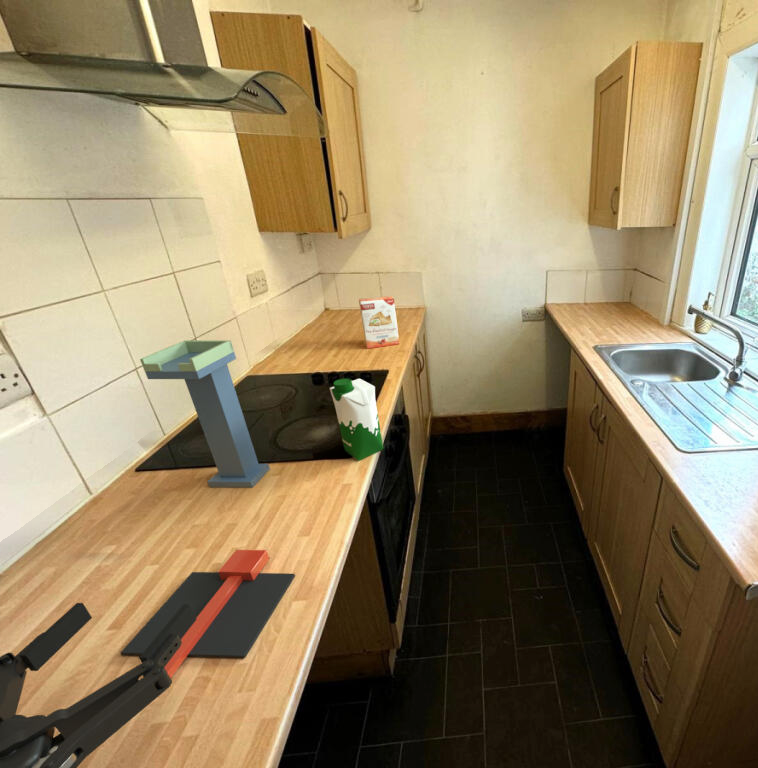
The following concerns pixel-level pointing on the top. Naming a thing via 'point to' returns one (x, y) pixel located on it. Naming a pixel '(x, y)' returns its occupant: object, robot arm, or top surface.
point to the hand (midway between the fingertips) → (137, 610)
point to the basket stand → (212, 406)
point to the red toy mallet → (220, 598)
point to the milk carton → (357, 417)
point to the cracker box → (379, 321)
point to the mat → (231, 625)
